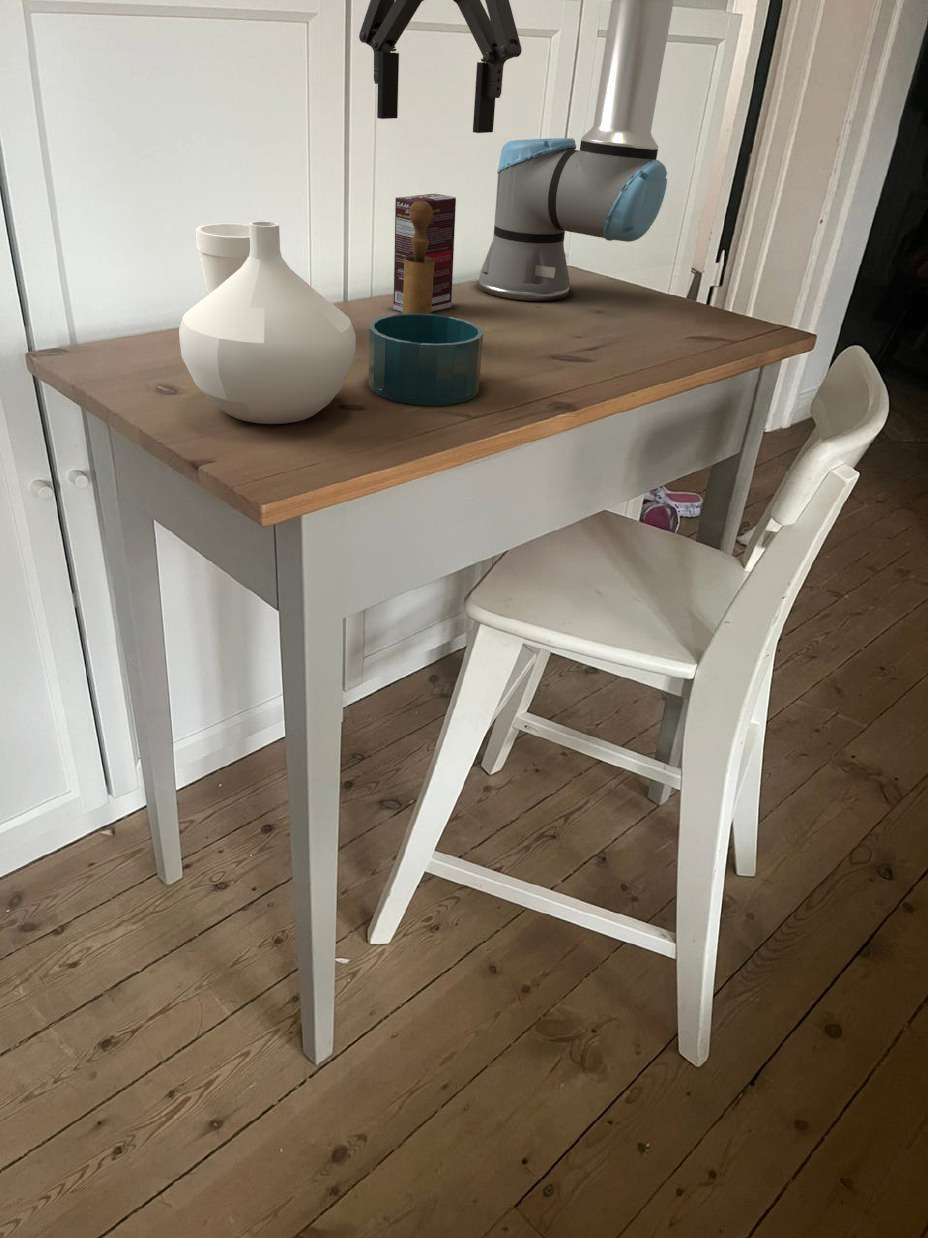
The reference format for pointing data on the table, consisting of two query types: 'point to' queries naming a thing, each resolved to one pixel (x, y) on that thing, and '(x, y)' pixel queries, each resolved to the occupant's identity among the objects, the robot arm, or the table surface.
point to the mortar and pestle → (418, 264)
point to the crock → (424, 358)
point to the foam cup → (222, 251)
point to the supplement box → (438, 247)
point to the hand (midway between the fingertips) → (433, 125)
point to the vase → (267, 340)
